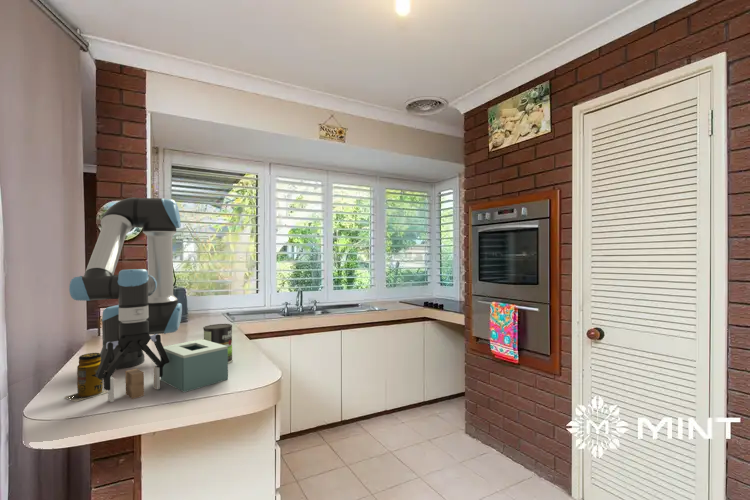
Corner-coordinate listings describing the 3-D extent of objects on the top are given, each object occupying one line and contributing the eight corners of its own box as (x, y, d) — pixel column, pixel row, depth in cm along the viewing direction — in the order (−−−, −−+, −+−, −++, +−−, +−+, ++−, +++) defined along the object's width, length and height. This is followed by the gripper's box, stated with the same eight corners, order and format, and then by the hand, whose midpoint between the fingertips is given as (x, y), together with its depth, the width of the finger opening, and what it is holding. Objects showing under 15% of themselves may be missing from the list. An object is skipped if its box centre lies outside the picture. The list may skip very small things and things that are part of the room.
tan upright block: (125, 394, 110) (125, 370, 110) (136, 391, 112) (136, 368, 112) (132, 399, 106) (132, 374, 106) (144, 395, 108) (143, 372, 108)
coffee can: (237, 358, 145) (237, 323, 145) (223, 366, 135) (222, 328, 135) (214, 358, 147) (213, 323, 147) (197, 366, 137) (197, 328, 137)
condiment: (108, 392, 111) (108, 353, 112) (75, 402, 104) (75, 360, 104) (96, 388, 115) (96, 350, 115) (63, 398, 107) (63, 357, 108)
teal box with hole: (160, 380, 122) (160, 347, 122) (202, 369, 132) (202, 339, 133) (184, 392, 110) (183, 355, 110) (228, 379, 121) (227, 346, 121)
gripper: (88, 328, 98) (89, 410, 97) (180, 316, 116) (181, 385, 115) (81, 325, 102) (81, 404, 102) (170, 314, 121) (171, 380, 120)
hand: (134, 394), depth 109 cm, fingers open, 11 cm apart
